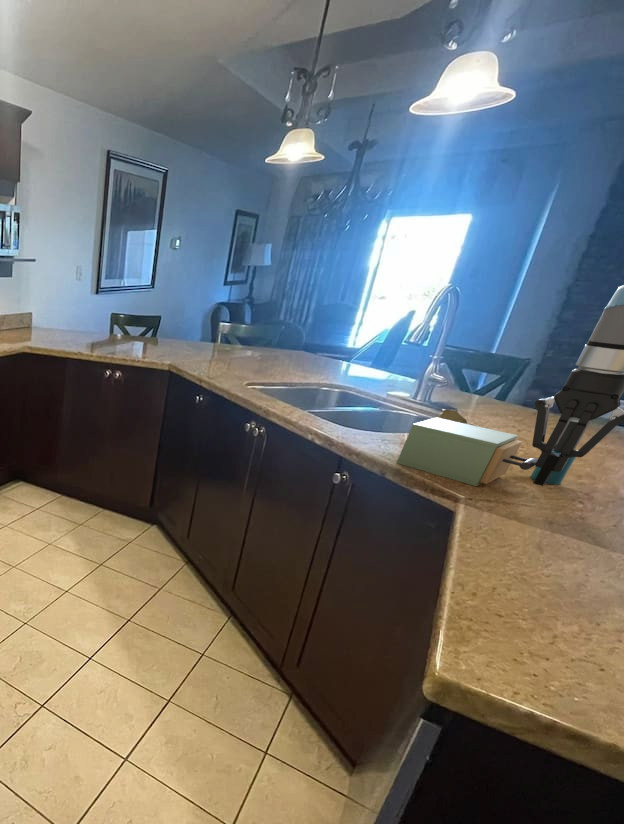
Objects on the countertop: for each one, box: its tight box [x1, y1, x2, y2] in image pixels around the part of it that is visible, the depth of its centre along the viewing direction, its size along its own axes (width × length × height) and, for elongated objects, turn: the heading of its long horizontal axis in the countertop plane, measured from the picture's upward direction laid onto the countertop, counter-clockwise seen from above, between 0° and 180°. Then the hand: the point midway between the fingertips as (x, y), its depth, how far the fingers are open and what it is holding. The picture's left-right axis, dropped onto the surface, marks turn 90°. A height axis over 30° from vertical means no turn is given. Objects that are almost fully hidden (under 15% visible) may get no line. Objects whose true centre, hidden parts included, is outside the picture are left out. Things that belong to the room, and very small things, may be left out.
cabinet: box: [396, 416, 519, 487], centre depth 113 cm, size 15×14×10 cm
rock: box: [438, 408, 468, 424], centre depth 128 cm, size 11×9×10 cm
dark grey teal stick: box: [530, 419, 579, 486], centre depth 108 cm, size 5×5×14 cm
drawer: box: [480, 439, 538, 485], centre depth 110 cm, size 18×13×8 cm
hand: (539, 483), depth 102 cm, fingers closed
